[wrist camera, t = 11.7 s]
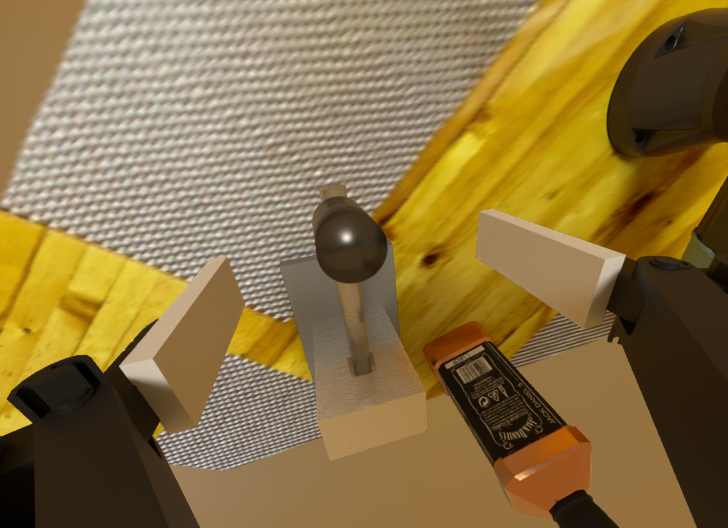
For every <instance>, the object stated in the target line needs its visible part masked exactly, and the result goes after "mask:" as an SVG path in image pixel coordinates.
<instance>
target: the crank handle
mask: <svg viewBox="0 0 728 528" xmlns="http://www.w3.org/2000/svg"><path fill="white" fill-rule="evenodd" d="M319 192H320V197H321V204H320V205H319V206H318V207H317V209H316V210H315V212H314V215H313V221H312V224H313V232H314V239H315V246H316V254H317V260H318V263H319V265H320V267H321V269H322V270H323V272H324V273H325V274H326V275H327V276H328V277H330V278H331V279H333V280H335V281H337V286H338V292H339V297H340V302H341V307H342V312H343V318H344V323H345V328H346V333H347V339H348V344H349V349H350V354H351V360H352V365H353V370H354V375H355V377H357V376H361V375H365V374H368V373H372V372H373V371H372V364H371V357H370V350H369V343H368V337H367V330H366V323H365V316H364V309H363V303H362V296H361V289H360V282H362V281H365V280H367V279H369V278H371V277H372V276H373V275H375V274H376V273H377V272H378V271H379V270H380V268H381V267H382V266H383V264H384V262H385V259H386V256H387V251H388V244H387V239H386V236H385V234H384V232H383V231H382V229H381V228H380V227H379V226H378V225H377V223H376V222H375V221H374V220H373V219H372V218H371V217H370V216H369V215H368V214H367V213H366V212H365V211H364V210H363V209H362V208H361V207H360V206H359V205H358V204H357V203H356V202H355V201H354V200H352V199H350V198H348V197H347V193H346V186H345V185H331V186H326V187H322V188H320V189H319Z"/></svg>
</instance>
